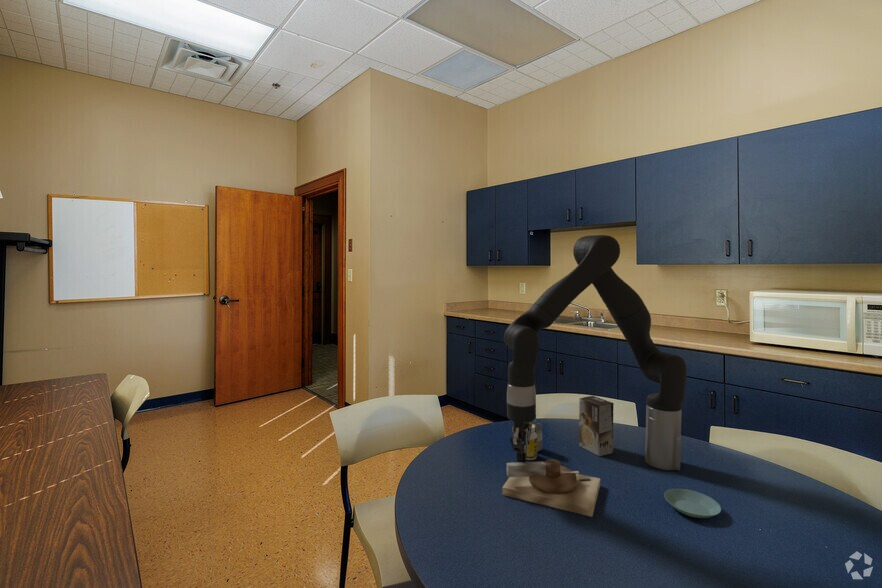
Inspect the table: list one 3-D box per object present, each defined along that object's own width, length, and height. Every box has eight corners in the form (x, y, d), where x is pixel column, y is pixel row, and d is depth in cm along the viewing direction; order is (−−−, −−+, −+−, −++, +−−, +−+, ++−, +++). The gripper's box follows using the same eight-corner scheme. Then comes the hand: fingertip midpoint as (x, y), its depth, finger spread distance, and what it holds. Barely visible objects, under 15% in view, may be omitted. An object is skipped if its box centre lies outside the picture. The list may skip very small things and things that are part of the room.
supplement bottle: (537, 461, 129) (537, 429, 128) (519, 459, 130) (519, 428, 129) (536, 453, 134) (537, 423, 134) (519, 452, 135) (519, 422, 135)
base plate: (600, 485, 114) (600, 477, 114) (592, 516, 100) (592, 507, 100) (519, 468, 124) (519, 461, 124) (502, 494, 110) (502, 486, 110)
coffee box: (614, 453, 135) (615, 403, 134) (598, 456, 132) (599, 405, 131) (592, 442, 143) (593, 395, 142) (577, 445, 140) (578, 397, 139)
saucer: (718, 505, 105) (719, 496, 105) (722, 530, 95) (723, 520, 95) (664, 492, 111) (665, 484, 111) (663, 515, 101) (663, 506, 101)
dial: (569, 469, 118) (570, 452, 118) (587, 492, 106) (588, 472, 106) (502, 472, 117) (502, 454, 117) (512, 495, 105) (512, 475, 105)
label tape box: (542, 449, 137) (543, 412, 137) (535, 453, 135) (536, 415, 134) (520, 441, 144) (520, 405, 143) (513, 445, 141) (513, 408, 140)
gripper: (528, 410, 105) (529, 478, 106) (541, 395, 117) (541, 456, 118) (499, 406, 108) (500, 472, 109) (514, 391, 120) (515, 451, 121)
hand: (521, 464), depth 114 cm, fingers closed
